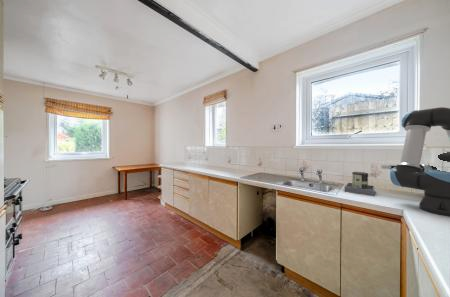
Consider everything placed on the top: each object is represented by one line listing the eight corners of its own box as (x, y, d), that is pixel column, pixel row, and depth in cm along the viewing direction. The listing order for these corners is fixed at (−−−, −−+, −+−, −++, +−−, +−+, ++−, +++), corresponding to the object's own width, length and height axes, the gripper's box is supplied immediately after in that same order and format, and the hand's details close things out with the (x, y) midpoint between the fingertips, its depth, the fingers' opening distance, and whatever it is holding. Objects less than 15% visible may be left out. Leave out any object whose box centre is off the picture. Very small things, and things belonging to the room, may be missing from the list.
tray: (374, 190, 137) (374, 185, 137) (373, 195, 124) (373, 190, 124) (347, 186, 150) (347, 182, 150) (344, 191, 137) (344, 186, 136)
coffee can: (366, 188, 139) (366, 172, 138) (369, 192, 130) (369, 174, 129) (351, 187, 144) (351, 171, 144) (353, 190, 135) (353, 173, 135)
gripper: (437, 177, 114) (400, 175, 119) (406, 171, 138) (376, 170, 143) (437, 166, 114) (400, 164, 118) (406, 162, 138) (376, 161, 143)
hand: (387, 167), depth 131 cm, fingers open, 13 cm apart
